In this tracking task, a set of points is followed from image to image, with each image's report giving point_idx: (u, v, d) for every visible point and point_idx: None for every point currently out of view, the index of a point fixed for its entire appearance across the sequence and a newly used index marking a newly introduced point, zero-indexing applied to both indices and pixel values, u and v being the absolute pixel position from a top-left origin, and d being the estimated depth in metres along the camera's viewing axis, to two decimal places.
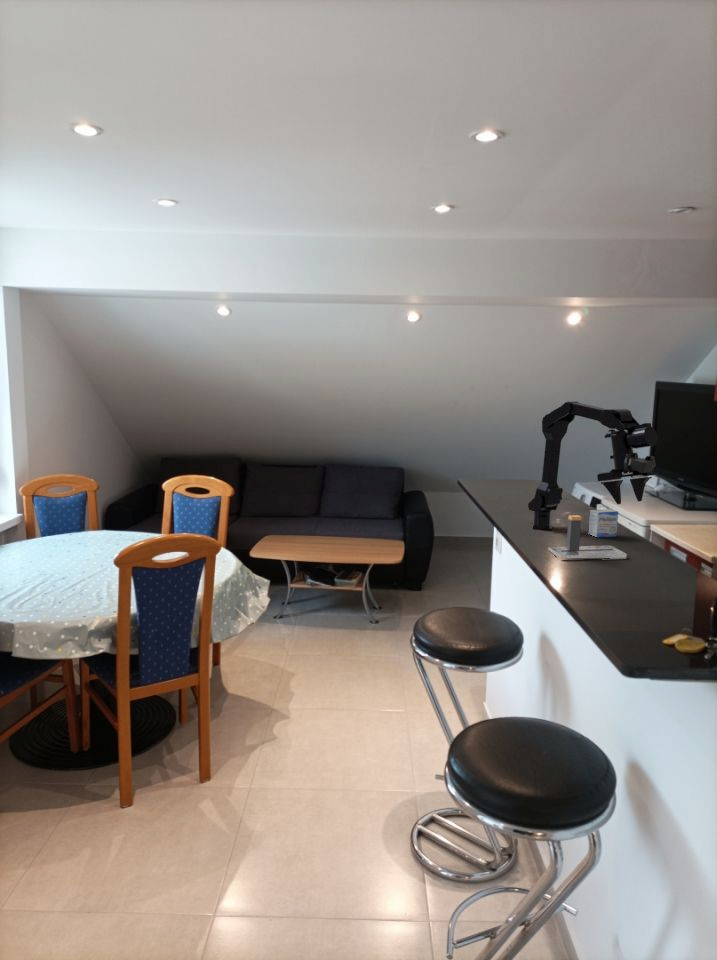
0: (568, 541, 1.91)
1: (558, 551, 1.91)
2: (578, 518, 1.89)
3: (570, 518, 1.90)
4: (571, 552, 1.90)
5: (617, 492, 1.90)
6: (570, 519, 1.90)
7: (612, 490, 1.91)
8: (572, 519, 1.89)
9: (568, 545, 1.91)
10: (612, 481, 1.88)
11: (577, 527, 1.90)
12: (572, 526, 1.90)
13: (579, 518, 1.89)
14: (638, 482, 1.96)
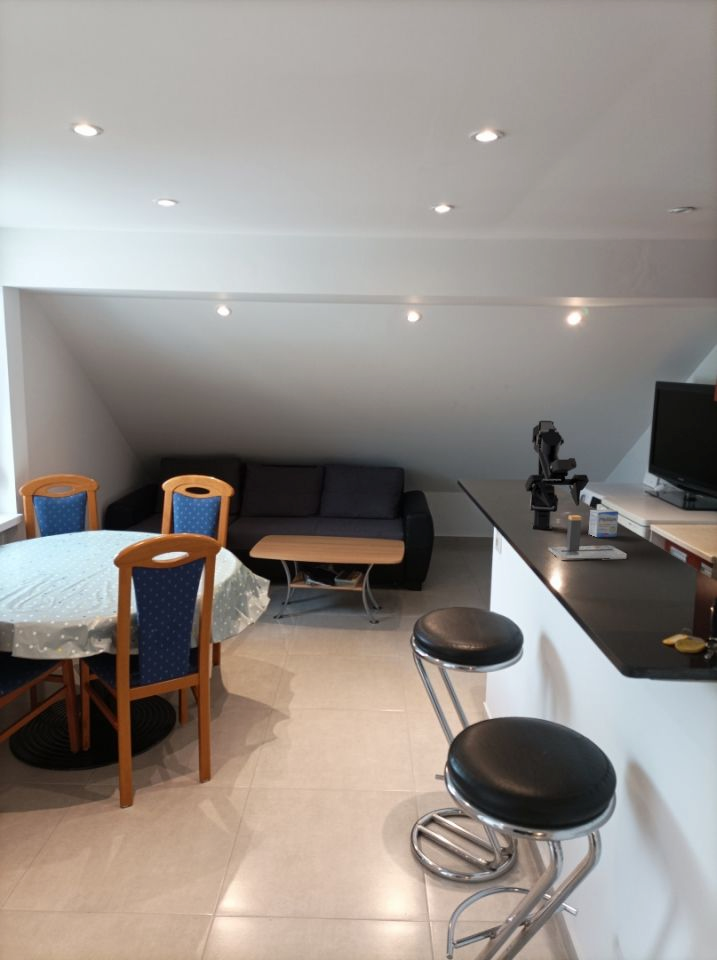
0: (568, 541, 1.91)
1: (558, 551, 1.91)
2: (578, 518, 1.89)
3: (570, 518, 1.90)
4: (571, 552, 1.90)
5: (543, 494, 1.98)
6: (570, 519, 1.90)
7: (541, 495, 2.00)
8: (572, 519, 1.89)
9: (568, 545, 1.91)
10: (535, 484, 1.99)
11: (577, 527, 1.90)
12: (572, 526, 1.90)
13: (579, 518, 1.89)
14: (574, 489, 2.01)
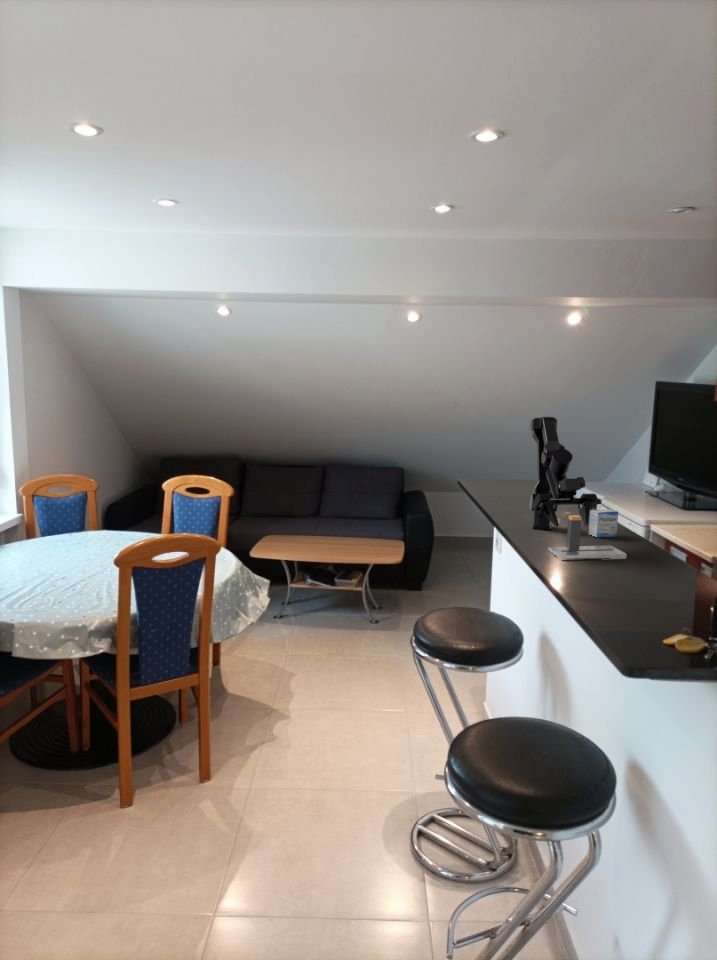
0: (568, 541, 1.91)
1: (558, 551, 1.91)
2: (578, 518, 1.89)
3: (570, 518, 1.90)
4: (571, 552, 1.90)
5: (551, 514, 1.92)
6: (570, 519, 1.90)
7: (549, 515, 1.94)
8: (572, 519, 1.89)
9: (568, 545, 1.91)
10: (542, 504, 1.94)
11: (577, 527, 1.90)
12: (572, 526, 1.90)
13: (579, 518, 1.89)
14: (583, 509, 1.96)
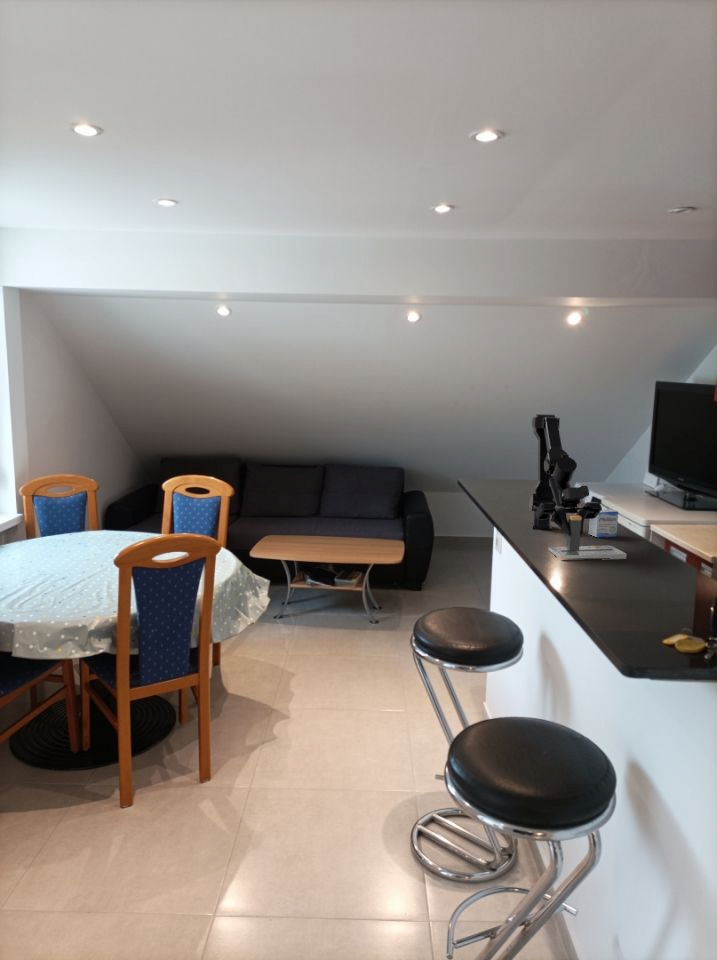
0: (568, 541, 1.91)
1: (558, 551, 1.91)
2: (578, 518, 1.89)
3: (570, 518, 1.90)
4: (571, 552, 1.90)
5: (564, 523, 1.91)
6: (570, 519, 1.90)
7: (561, 524, 1.92)
8: (572, 519, 1.89)
9: (568, 545, 1.91)
10: (555, 513, 1.92)
11: (577, 527, 1.90)
12: (572, 526, 1.90)
13: (579, 518, 1.89)
14: None
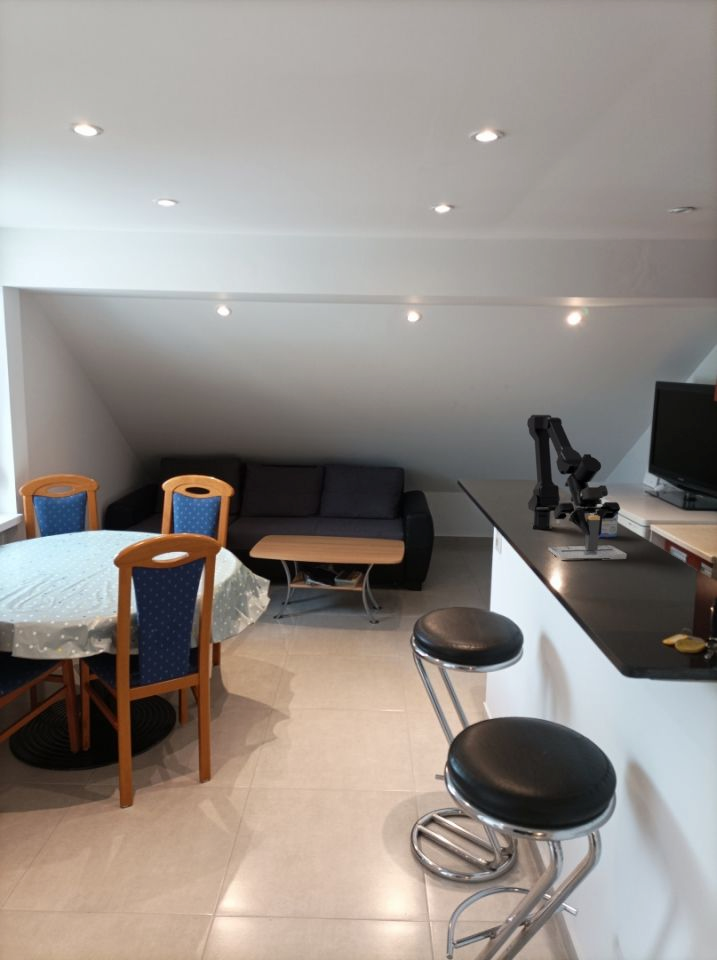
0: (586, 541, 1.92)
1: (558, 551, 1.91)
2: (597, 518, 1.90)
3: (588, 518, 1.91)
4: (571, 552, 1.90)
5: (583, 523, 1.91)
6: (588, 519, 1.91)
7: (580, 524, 1.93)
8: (591, 519, 1.90)
9: (586, 545, 1.92)
10: (573, 512, 1.92)
11: (596, 527, 1.91)
12: (590, 526, 1.90)
13: (597, 518, 1.90)
14: None
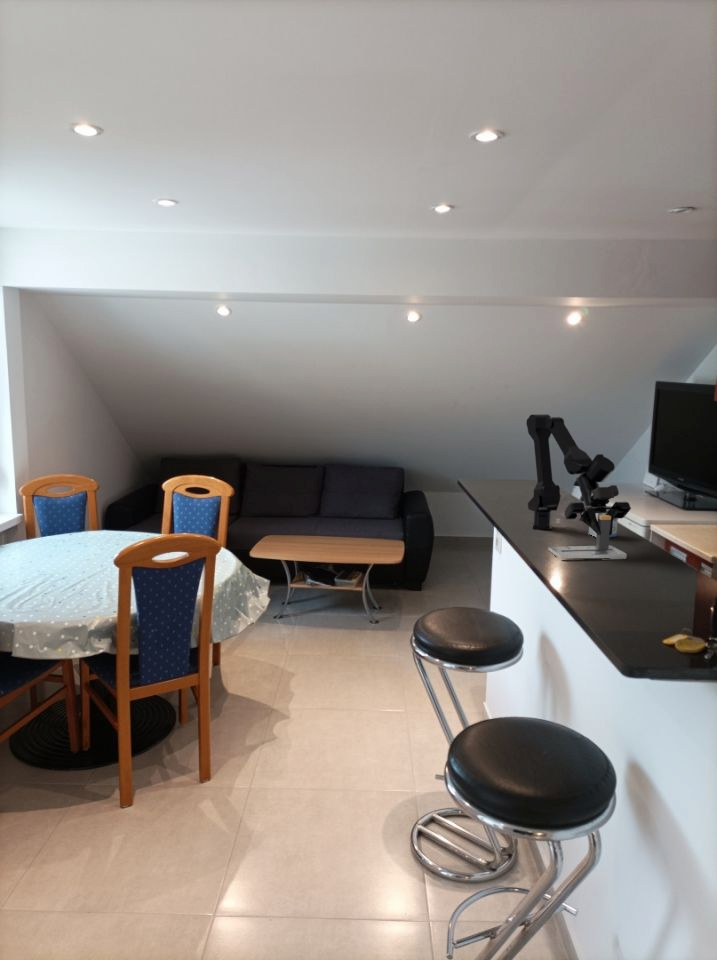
0: (597, 540, 1.92)
1: (558, 551, 1.91)
2: (608, 518, 1.90)
3: (600, 517, 1.91)
4: (571, 552, 1.90)
5: (594, 523, 1.92)
6: (600, 518, 1.91)
7: (591, 523, 1.93)
8: (602, 518, 1.90)
9: (597, 544, 1.92)
10: (584, 512, 1.93)
11: (607, 526, 1.91)
12: (602, 525, 1.91)
13: (609, 517, 1.91)
14: None
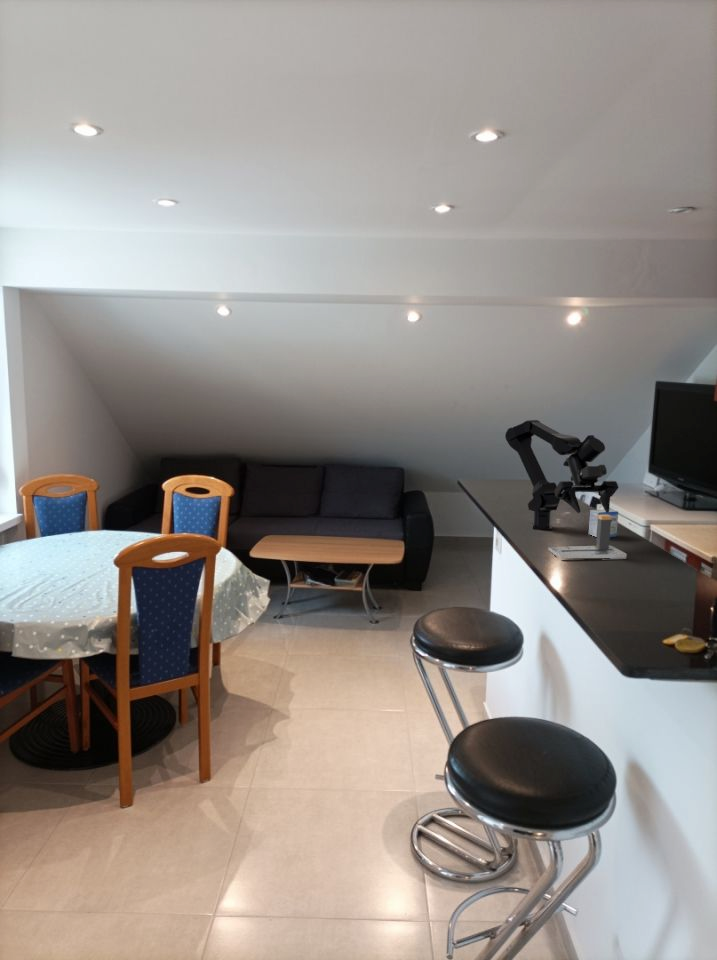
0: (598, 540, 1.92)
1: (558, 551, 1.91)
2: (608, 518, 1.91)
3: (600, 517, 1.91)
4: (571, 552, 1.90)
5: (573, 501, 1.98)
6: (600, 518, 1.91)
7: (571, 502, 2.00)
8: (602, 518, 1.90)
9: (598, 544, 1.92)
10: (564, 490, 2.00)
11: (607, 526, 1.91)
12: (602, 525, 1.91)
13: (609, 517, 1.91)
14: (603, 496, 2.02)
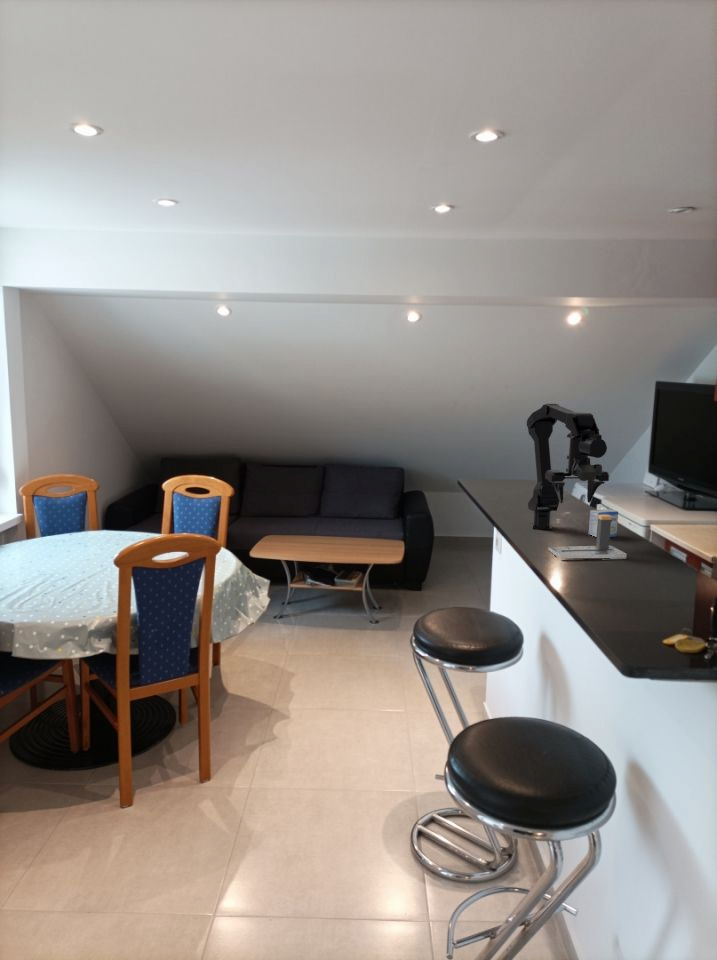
0: (598, 540, 1.92)
1: (558, 551, 1.91)
2: (608, 518, 1.91)
3: (600, 517, 1.91)
4: (571, 552, 1.90)
5: (559, 492, 2.02)
6: (600, 518, 1.91)
7: (557, 489, 2.04)
8: (602, 518, 1.90)
9: (598, 544, 1.92)
10: (554, 482, 2.01)
11: (607, 526, 1.91)
12: (602, 525, 1.91)
13: (609, 517, 1.91)
14: (591, 484, 2.04)
